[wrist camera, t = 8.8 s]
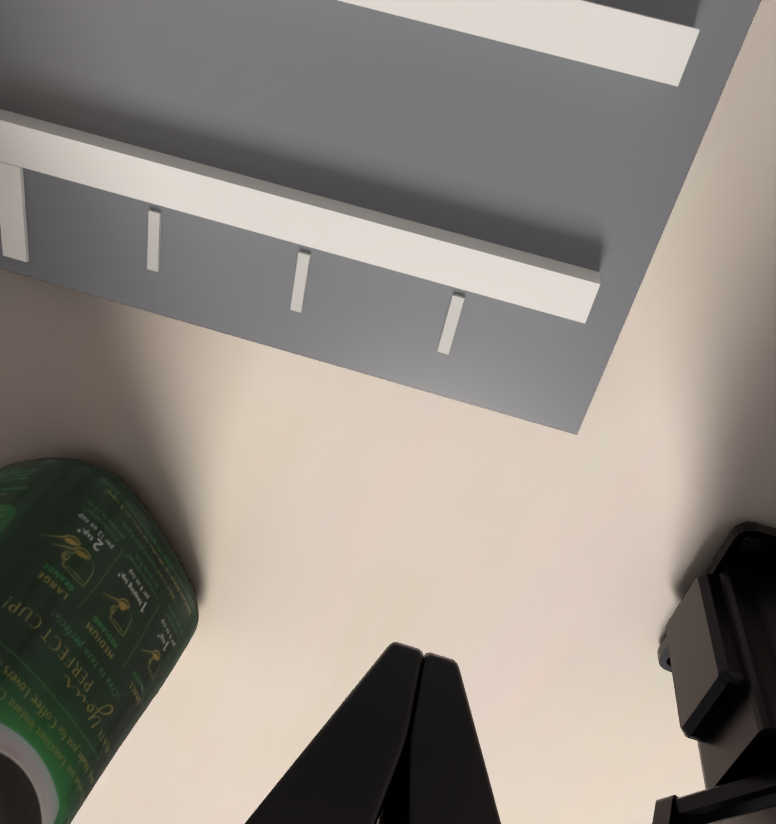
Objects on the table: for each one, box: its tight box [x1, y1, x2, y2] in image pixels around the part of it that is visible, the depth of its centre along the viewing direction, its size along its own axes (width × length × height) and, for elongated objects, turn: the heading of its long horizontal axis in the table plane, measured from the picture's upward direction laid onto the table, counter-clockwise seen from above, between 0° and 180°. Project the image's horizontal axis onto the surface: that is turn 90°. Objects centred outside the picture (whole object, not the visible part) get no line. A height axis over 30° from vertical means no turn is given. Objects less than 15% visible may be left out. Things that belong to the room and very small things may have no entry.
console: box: [0, 0, 761, 435], centre depth 17 cm, size 21×13×3 cm, turn 79°
